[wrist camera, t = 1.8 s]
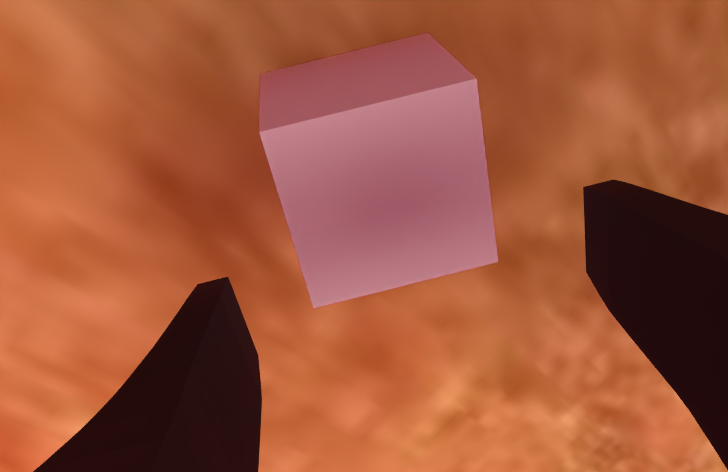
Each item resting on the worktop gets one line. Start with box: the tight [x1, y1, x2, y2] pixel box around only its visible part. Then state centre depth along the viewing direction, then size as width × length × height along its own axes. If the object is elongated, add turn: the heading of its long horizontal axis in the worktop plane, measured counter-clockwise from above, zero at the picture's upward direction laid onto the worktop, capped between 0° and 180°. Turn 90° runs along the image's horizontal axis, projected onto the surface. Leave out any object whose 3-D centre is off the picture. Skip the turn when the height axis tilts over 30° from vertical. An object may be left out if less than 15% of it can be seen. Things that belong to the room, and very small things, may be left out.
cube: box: [259, 33, 498, 308], centre depth 18 cm, size 5×5×5 cm
